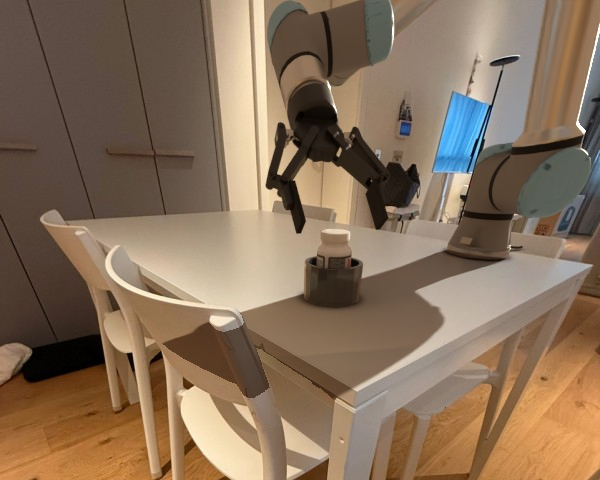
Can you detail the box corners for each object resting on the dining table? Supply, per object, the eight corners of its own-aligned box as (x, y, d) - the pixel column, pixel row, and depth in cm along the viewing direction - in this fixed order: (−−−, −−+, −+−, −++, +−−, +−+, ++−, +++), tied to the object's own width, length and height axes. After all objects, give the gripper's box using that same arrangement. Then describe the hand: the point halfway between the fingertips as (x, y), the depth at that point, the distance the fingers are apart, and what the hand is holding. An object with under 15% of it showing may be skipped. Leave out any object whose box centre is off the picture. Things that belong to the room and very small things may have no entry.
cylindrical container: (349, 288, 64) (352, 254, 60) (366, 305, 56) (371, 268, 52) (299, 290, 62) (300, 255, 59) (310, 308, 54) (311, 270, 51)
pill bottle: (352, 291, 60) (358, 230, 54) (341, 301, 56) (347, 235, 50) (322, 287, 62) (325, 227, 56) (310, 296, 58) (312, 232, 52)
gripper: (367, 131, 60) (399, 237, 58) (229, 124, 53) (259, 245, 50) (388, 86, 53) (426, 205, 51) (232, 71, 46) (267, 209, 43)
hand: (343, 226), depth 50 cm, fingers open, 13 cm apart
